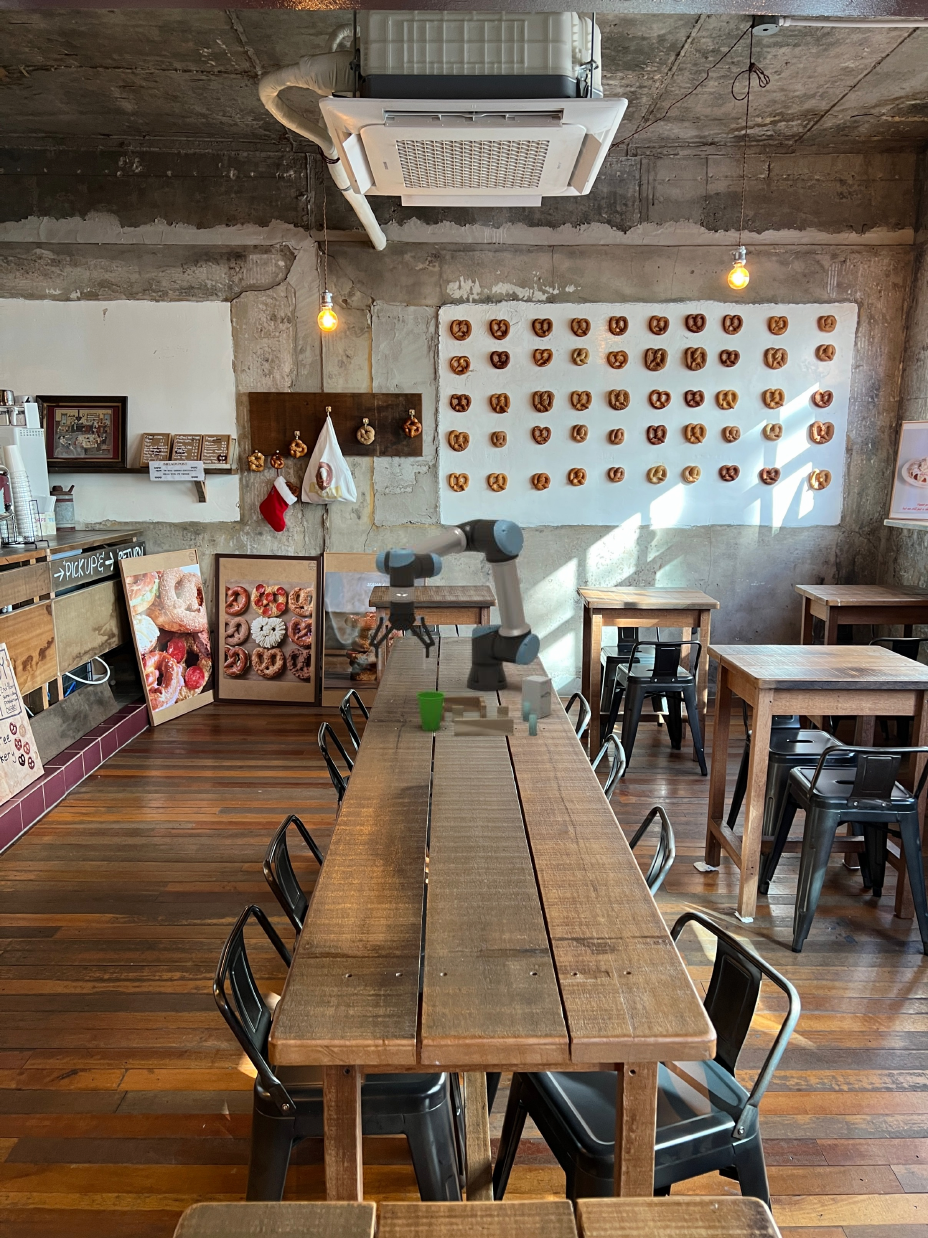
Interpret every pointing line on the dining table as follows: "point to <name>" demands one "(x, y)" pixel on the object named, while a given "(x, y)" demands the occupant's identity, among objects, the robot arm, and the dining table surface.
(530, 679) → the supplement box
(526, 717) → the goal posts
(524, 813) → the dining table surface
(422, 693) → the cup
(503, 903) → the dining table surface
